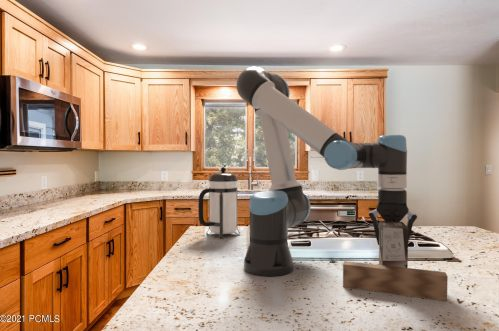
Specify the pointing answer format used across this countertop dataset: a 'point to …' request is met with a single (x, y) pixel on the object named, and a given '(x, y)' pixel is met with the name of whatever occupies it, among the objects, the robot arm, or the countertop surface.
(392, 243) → the coffee box
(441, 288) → the board
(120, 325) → the countertop surface
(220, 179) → the coffee press
